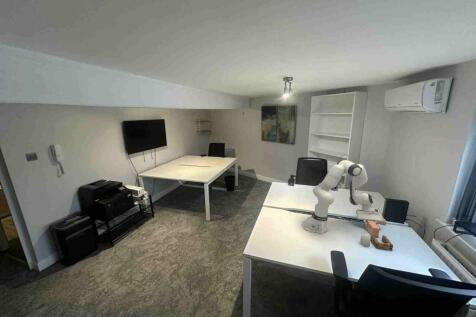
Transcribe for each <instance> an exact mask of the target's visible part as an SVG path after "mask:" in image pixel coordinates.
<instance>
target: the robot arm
mask: <svg viewBox="0 0 476 317" xmlns="http://www.w3.org/2000/svg"><path fill="white" fill-rule="evenodd" d="M344 174H345V175H349V176H352V179H351V180H350V181H349V197H348V198H349V203H350V204H351V205H353V206H357V205H358V206H359V205H361V209H356V210H355V214H356V219H357V220H359V221H360V220H361V221H363V223H364V225H365V226H366V225H368V223H367V220H368V221H374V222H375V223H376V222H381V221H382V220H383V219H382V216H383V215H382V216H381V214H382V213H381V212H380V210H379V209H376V208H374V207H373V203H374V200H373V195H371V194H369V193H367V192H362V193H359V194H358V193H357V194H356V189H357V188H359V187H361V186H364V185H366V183H368V180H369V179H368V173H367V170H366V167H365V165H363V164H360V163H354V162H353V161H351V160H348V159H344V158H343V159H340V160H339V161H337V163H336V164H333V165H332V167H331V168H330V169H329V171H328V172H327V173H326V175H325V177H324V179H323V180H322V182H320V183H319V184H318V185H316V186H314V187H313V188H312V194H314V196H315V198H317V203H316V204H315V205H314V211H310V212H311V213H310V214H311V215H310V216H308V217H306V218H305V220H304V221H302V224H301V226H302V228H303V229H304V230H305V231H307V230H308V232H312V233H316V234H324V233H326V232H328V231H329V228H328V219H329V218H328V217H329V215H328V213H329V207H330V205H332V204H334V202H335V199H334V198H335V197H334V196H333V194H332V193H331V192H330V191H331V189H333V188H336V187H337V186H338V183H339V182H340V181H341V179H342V177H343V175H344ZM380 213H381V214H380Z"/></svg>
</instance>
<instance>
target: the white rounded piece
mask: <svg viewBox="0 0 476 317" xmlns="http://www.w3.org/2000/svg"><path fill="white" fill-rule="evenodd" d="M370 239H371V235H370V233H369V232H366V231H362V232H361V235H360V241H359V243H360V245H361V246H362V247H366V248H367V247H368V248H369V247H370V244H371V241H370Z"/></svg>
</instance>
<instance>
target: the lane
mask: <svg viewBox="0 0 476 317" xmlns="http://www.w3.org/2000/svg"><path fill="white" fill-rule="evenodd" d="M369 234H370V233H369ZM370 235H371V239H370V243H371V244H372V245H373V246H374V248H375V249H376V250H384V251H390V252H392V251H393V249H394V245H393V243H392V242H391V240H390V239H389V238H387V236H386V235H382V237H381V242H380V241H378V239H377V238H376V237H375V236H374V235H373V234H370Z"/></svg>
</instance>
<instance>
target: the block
mask: <svg viewBox="0 0 476 317" xmlns="http://www.w3.org/2000/svg"><path fill="white" fill-rule="evenodd" d="M366 223H368V225H365V226H366V227H365V229H366V230H367V231H368V232H367V233H369V234H373V235H374V236H375V238H376V237H378V238H379V236H380V229H381V228H380V227H379V226H378V224H376V223H375V222H374V221H368V220H366Z"/></svg>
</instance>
